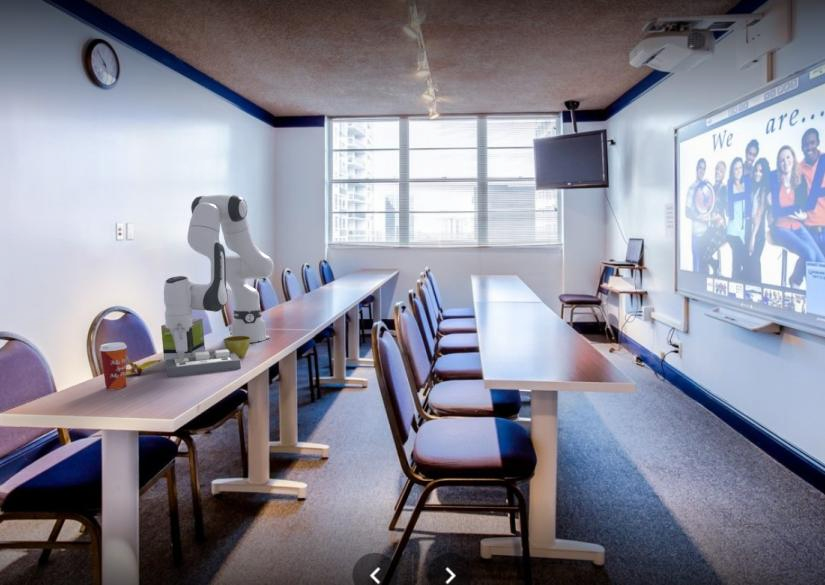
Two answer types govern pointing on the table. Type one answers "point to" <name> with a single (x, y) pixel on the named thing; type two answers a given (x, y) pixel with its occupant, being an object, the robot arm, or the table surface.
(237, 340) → the flower pot
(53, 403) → the table surface
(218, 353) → the button
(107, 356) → the paper cup
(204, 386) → the table surface
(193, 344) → the tea box
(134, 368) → the origami crane
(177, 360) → the button
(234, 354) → the button board
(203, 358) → the button middle
